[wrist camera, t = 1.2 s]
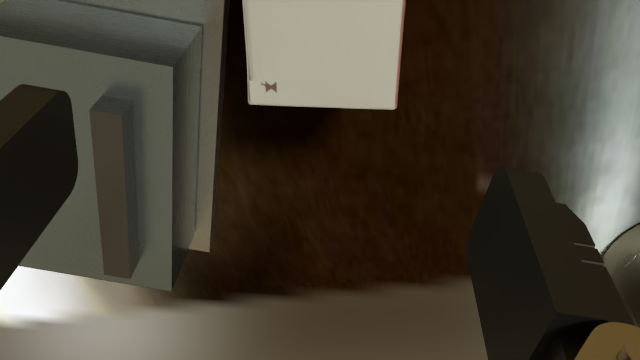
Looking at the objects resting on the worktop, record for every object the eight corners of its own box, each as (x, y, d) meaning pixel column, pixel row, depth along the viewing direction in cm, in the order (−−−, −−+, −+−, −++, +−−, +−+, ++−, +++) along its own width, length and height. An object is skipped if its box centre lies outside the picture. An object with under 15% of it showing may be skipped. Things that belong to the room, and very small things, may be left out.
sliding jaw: (202, 26, 28) (163, 81, 23) (194, 234, 36) (163, 310, 31) (3, -10, 28) (-82, 37, 23) (39, 208, 36) (-17, 279, 31)
